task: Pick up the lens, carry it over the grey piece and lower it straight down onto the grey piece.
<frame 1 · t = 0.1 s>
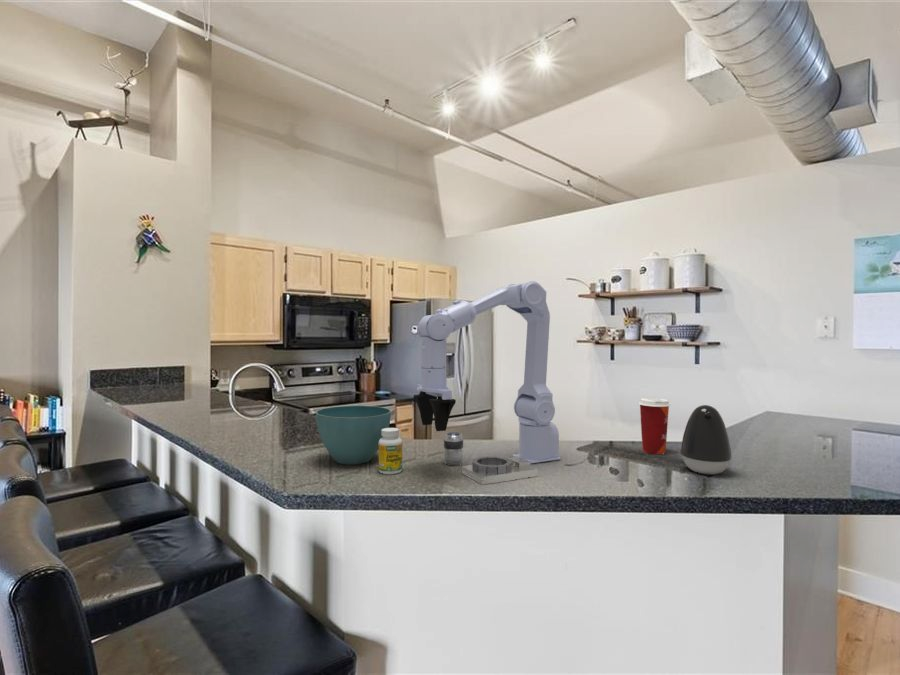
hand: (433, 427, 110), 10 cm above the worktop, tool pointing down, fingers open, 7 cm apart
lens: (453, 463, 117), on the worktop
dark rounded egg-shaped piece: (705, 472, 111), on the worktop
grey piece: (499, 474, 108), on the worktop
supplement bottle: (390, 472, 110), on the worktop
plant pot: (353, 461, 120), on the worktop
paper cup: (653, 452, 129), on the worktop
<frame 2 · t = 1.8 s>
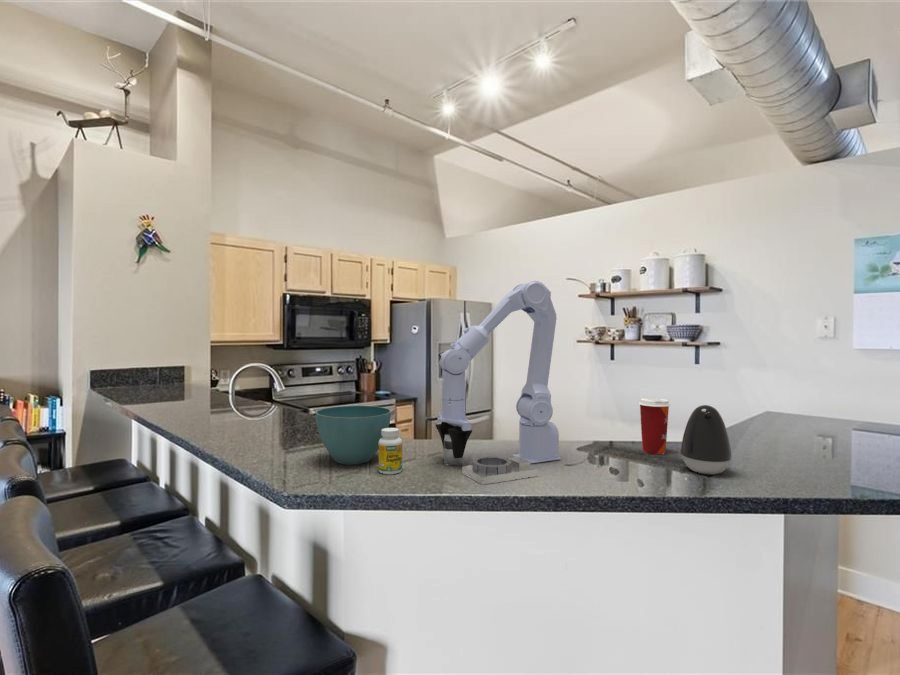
hand: (453, 455, 117), 2 cm above the worktop, tool pointing down, fingers closed on lens, 5 cm apart
lens: (453, 463, 117), on the worktop, touching gripper
everything else where it was.
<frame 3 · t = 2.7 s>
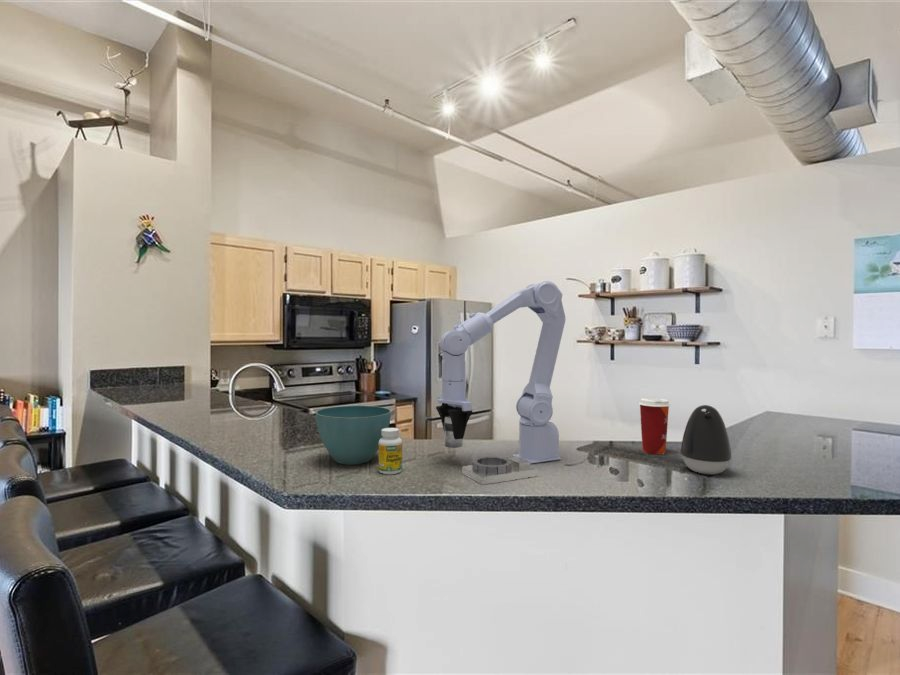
hand: (453, 436, 117), 6 cm above the worktop, tool pointing down, fingers closed on lens, 5 cm apart
lens: (453, 445, 117), point 4 cm above the worktop, touching gripper
everything else where it was.
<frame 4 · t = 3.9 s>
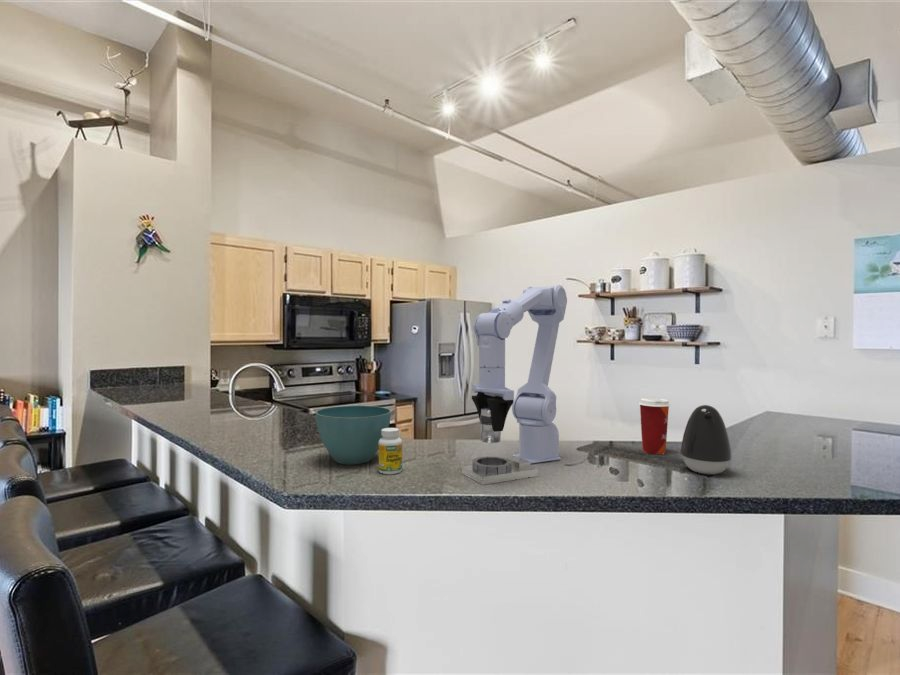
hand: (491, 428, 107), 10 cm above the worktop, tool pointing down, fingers closed on lens, 5 cm apart
lens: (490, 440, 107), point 8 cm above the worktop, touching gripper
everything else where it was.
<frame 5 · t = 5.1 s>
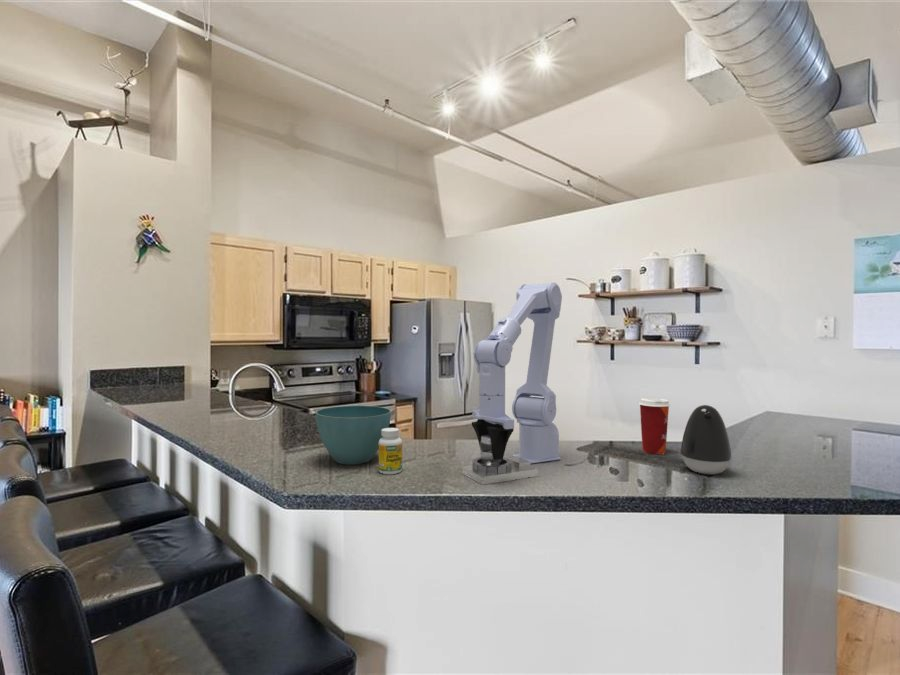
hand: (491, 456, 107), 4 cm above the worktop, tool pointing down, fingers closed on lens, 5 cm apart
lens: (490, 467, 107), point 2 cm above the worktop, touching gripper
everything else where it was.
when the fingers open (4 cm above the worktop, at t = 5.9 s): lens stays where it is, resting on grey piece.
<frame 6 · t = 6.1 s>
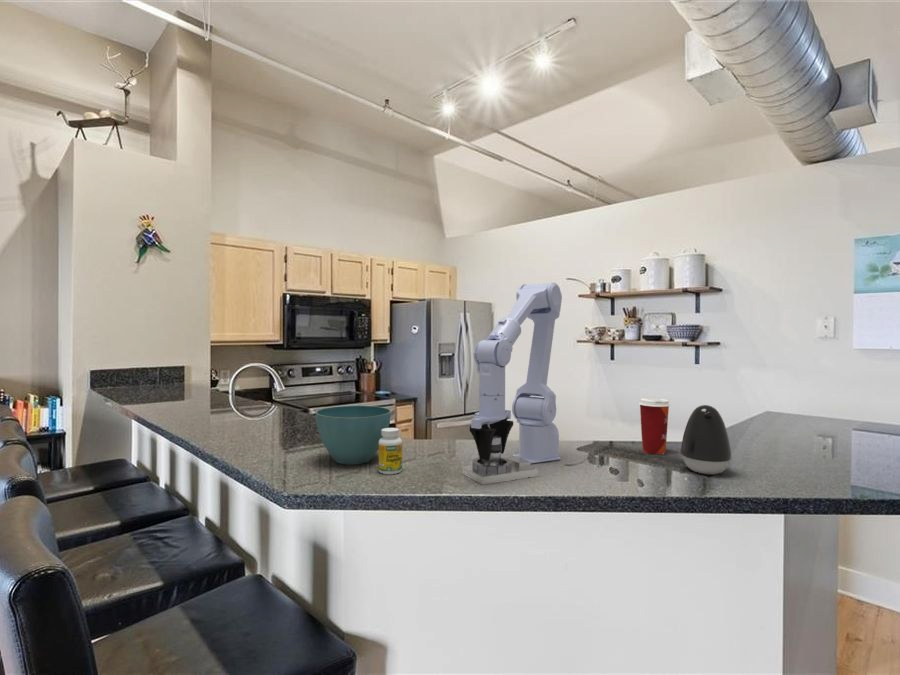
hand: (491, 456, 107), 4 cm above the worktop, tool pointing down, fingers open, 6 cm apart
lens: (491, 468, 107), point 2 cm above the worktop, touching grey piece
everything else where it was.
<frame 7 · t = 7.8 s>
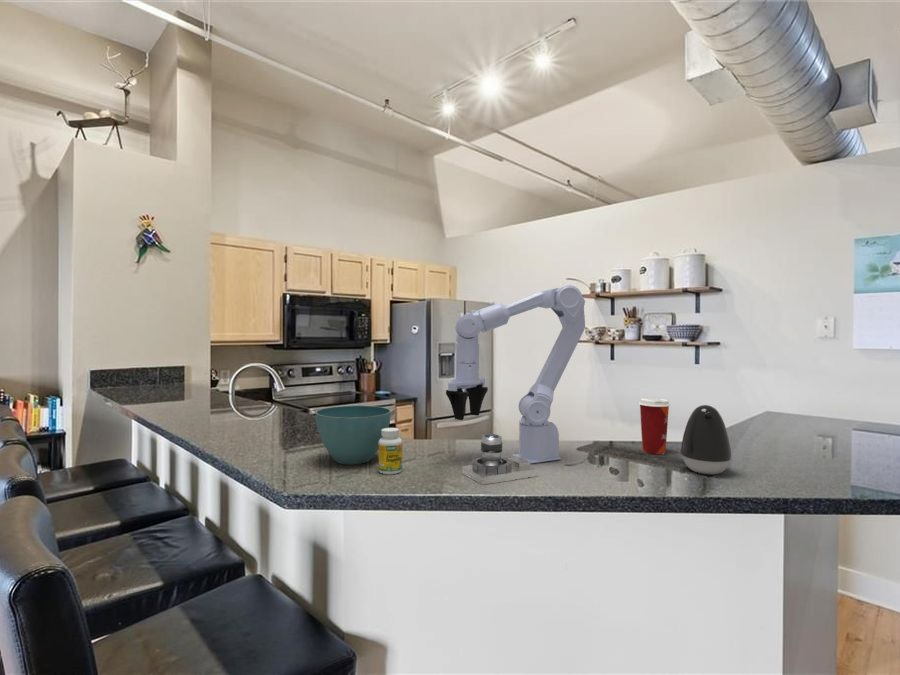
hand: (467, 417, 121), 10 cm above the worktop, tool pointing down, fingers open, 7 cm apart
nothing on the worktop moved.
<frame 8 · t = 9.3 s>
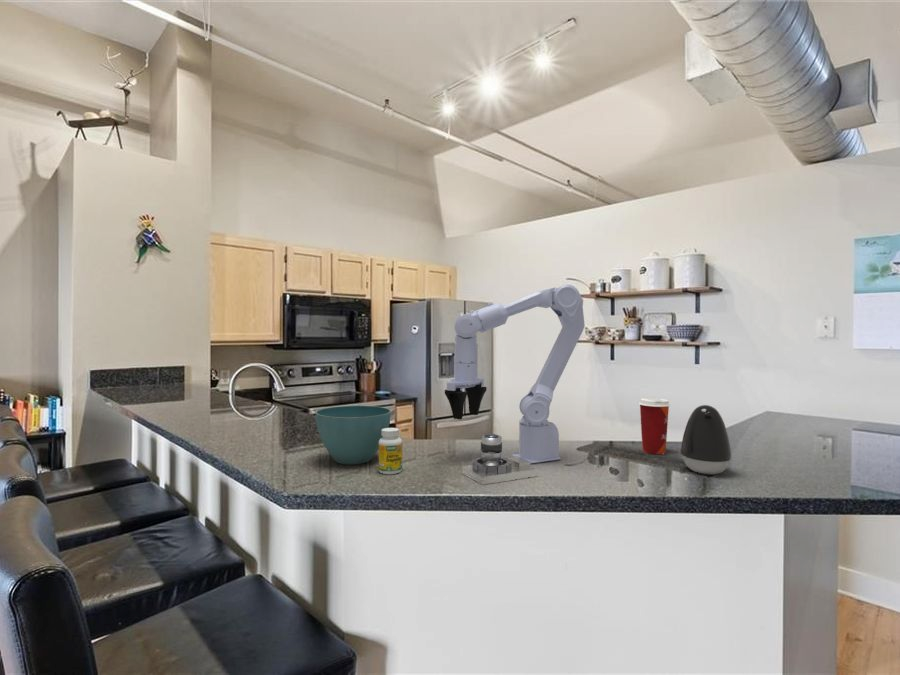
hand: (466, 416, 122), 10 cm above the worktop, tool pointing down, fingers open, 7 cm apart
nothing on the worktop moved.
at the end: lens 0.3 cm from the target spot on the grey piece, point 1.7 cm above the grey piece's base; lens tilted 2°; the gripper is holding nothing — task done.
